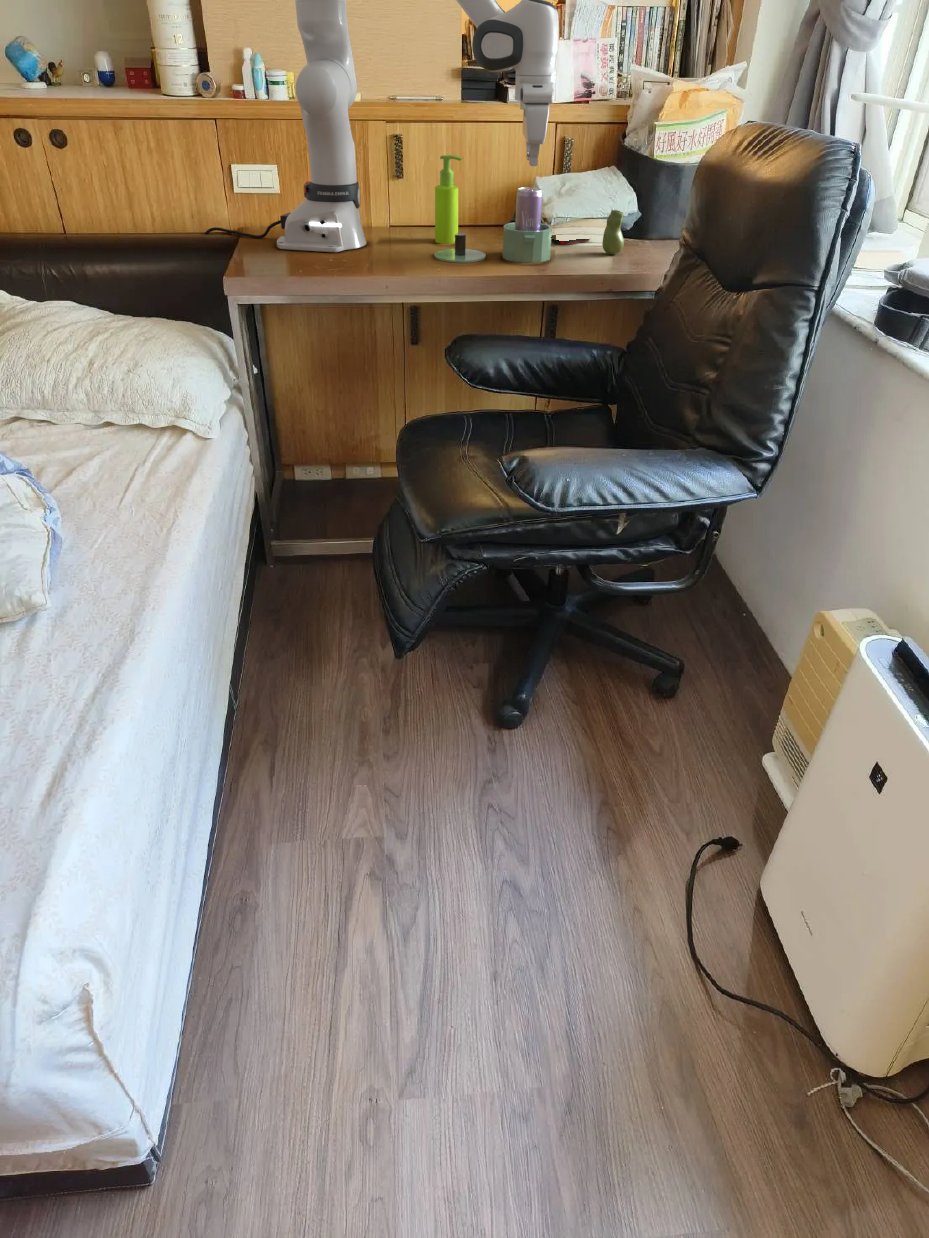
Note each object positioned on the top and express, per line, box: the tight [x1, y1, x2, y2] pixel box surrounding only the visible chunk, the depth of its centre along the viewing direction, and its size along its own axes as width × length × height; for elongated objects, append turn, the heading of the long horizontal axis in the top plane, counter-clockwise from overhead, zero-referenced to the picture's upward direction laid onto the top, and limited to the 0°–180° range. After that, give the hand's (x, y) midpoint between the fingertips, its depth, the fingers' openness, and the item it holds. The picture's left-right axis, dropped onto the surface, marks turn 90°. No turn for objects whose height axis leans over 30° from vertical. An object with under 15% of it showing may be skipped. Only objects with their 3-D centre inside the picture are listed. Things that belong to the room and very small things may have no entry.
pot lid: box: [433, 232, 487, 264], centre depth 197 cm, size 12×12×6 cm
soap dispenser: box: [434, 154, 464, 245], centre depth 207 cm, size 6×7×20 cm
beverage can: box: [515, 186, 543, 231], centre depth 195 cm, size 6×6×15 cm
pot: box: [501, 221, 553, 264], centre depth 198 cm, size 11×17×7 cm
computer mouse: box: [551, 238, 591, 246], centre depth 216 cm, size 6×11×4 cm, turn 122°
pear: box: [601, 209, 625, 255], centre depth 203 cm, size 6×5×10 cm
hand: (531, 163), depth 188 cm, fingers open, 8 cm apart
